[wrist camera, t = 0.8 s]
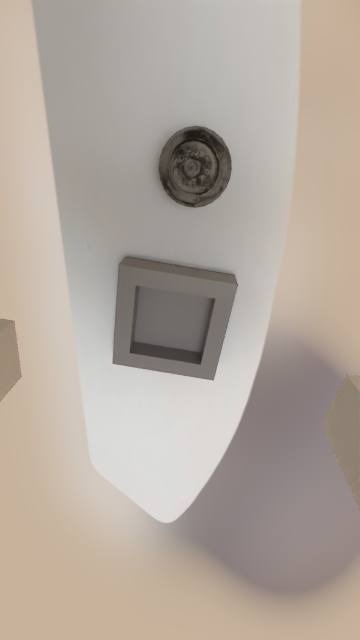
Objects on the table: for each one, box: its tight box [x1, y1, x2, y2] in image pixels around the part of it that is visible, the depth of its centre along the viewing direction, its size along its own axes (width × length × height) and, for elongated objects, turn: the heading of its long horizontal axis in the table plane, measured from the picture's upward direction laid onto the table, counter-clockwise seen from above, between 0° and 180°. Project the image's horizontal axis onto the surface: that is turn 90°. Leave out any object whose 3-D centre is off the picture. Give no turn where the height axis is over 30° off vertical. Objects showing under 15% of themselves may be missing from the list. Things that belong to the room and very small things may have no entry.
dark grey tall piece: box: [159, 126, 231, 207], centre depth 22 cm, size 6×6×12 cm
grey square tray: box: [113, 257, 238, 380], centre depth 33 cm, size 12×12×3 cm
